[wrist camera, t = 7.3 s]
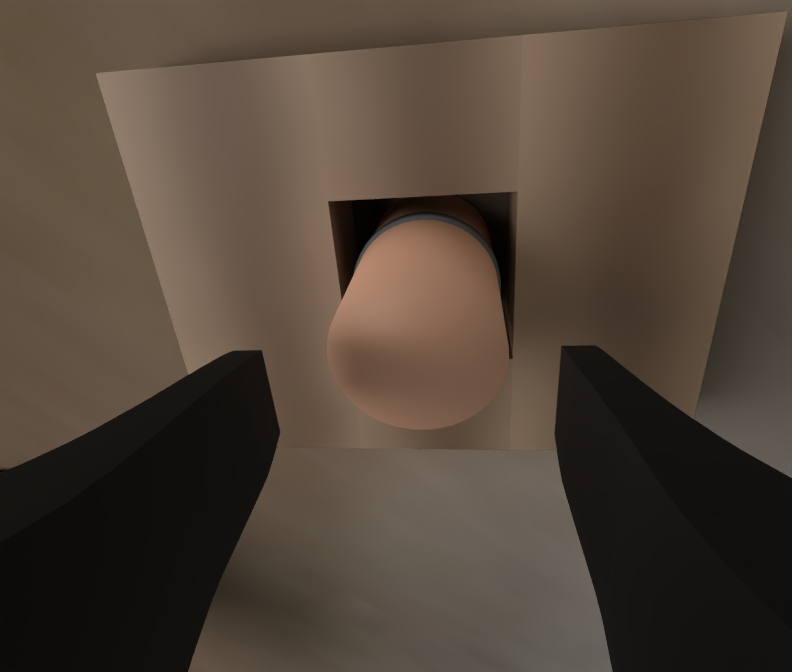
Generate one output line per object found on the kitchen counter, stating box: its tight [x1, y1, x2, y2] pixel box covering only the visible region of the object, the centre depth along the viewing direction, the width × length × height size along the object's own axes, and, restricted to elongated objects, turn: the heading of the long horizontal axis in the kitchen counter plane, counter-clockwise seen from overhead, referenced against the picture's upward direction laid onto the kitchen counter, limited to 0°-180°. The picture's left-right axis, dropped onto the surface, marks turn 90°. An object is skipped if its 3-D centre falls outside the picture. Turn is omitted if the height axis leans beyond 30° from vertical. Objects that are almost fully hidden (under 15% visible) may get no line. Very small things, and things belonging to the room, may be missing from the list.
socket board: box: [96, 11, 788, 450], centre depth 16 cm, size 16×12×3 cm
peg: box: [327, 195, 509, 430], centre depth 15 cm, size 4×4×7 cm
